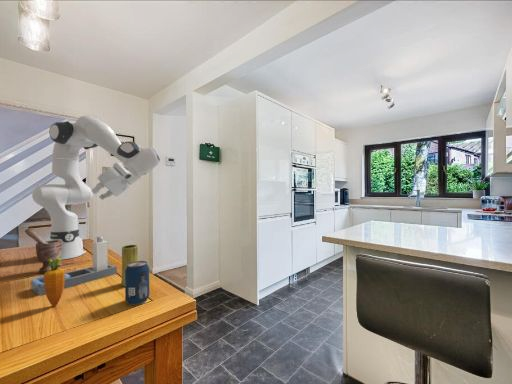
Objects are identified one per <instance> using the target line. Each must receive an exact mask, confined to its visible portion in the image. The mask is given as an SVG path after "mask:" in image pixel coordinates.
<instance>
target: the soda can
mask: <svg viewBox="0 0 512 384" xmlns="http://www.w3.org/2000/svg"><path fill="white" fill-rule="evenodd" d="M124 289H125V290H124V291H125V298H124V300H125V302H126V303H127V304H128V305H131V306H137V305H141V304H143V303H145V302H146V301H147V300H148V299H149V297H150V266H149V264H148V261H144V260H138V261H136V262H132V263H129V264H128V265H127V268H126V270H125V287H124Z"/></svg>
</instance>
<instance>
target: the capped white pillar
mask: <svg viewBox="0 0 512 384" xmlns="http://www.w3.org/2000/svg"><path fill="white" fill-rule="evenodd" d="M108 264H109V263H108V241H106V240H104V236H96V241H92V267H93V271H94V272H95V271H99V270H103V269H107V268H108Z"/></svg>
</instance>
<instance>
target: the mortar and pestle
mask: <svg viewBox="0 0 512 384" xmlns="http://www.w3.org/2000/svg"><path fill="white" fill-rule="evenodd" d="M24 232H25V234H26V235H27V236H28V237H30V239H31V238H32V240H34V241H35V242H36V243H35V252H36V253H35V254H36V258H37V260H38V261H39V263H42V266H41V267H40V268H39V270H38V274H39V275H40V274H41V275H42V274H43V275H44V274H45V273H46V272H47V271H48V270H51V266H50V262H49V259H52V261H53V265H54V262H55V260H56V259H57V258H60V255H61V251H62V247H61V246H62V241H61V240H51V241H50V240H44V239H43V238H42V237H41V235H39V233H38V231H36V229H34V228H33V227H28V228H27V229H26V228H25V230H24ZM58 268H61V265H60V266H59V267H58Z"/></svg>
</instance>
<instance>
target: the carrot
mask: <svg viewBox="0 0 512 384" xmlns="http://www.w3.org/2000/svg"><path fill="white" fill-rule="evenodd" d="M61 261H63V260H62V259H60V258H57V259H56V260H55V262H54V265H53V261H52V259H49V262H50V266H51V270H48V271H47V272H46V273H45V274H43V276H44V288H45V292H46V294H45V295H46V298H47V300H48V302H49V303H50V304H51V305H52V306H53V307H57V305H58V303H59V302H60V300H61V298H62V295H63V292H64V290H65V289H64V283H65V273H66V271H65V269H64V268H62V267H61V266H62V264H61V263H60V262H61ZM59 266H60V268H58V267H59Z"/></svg>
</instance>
